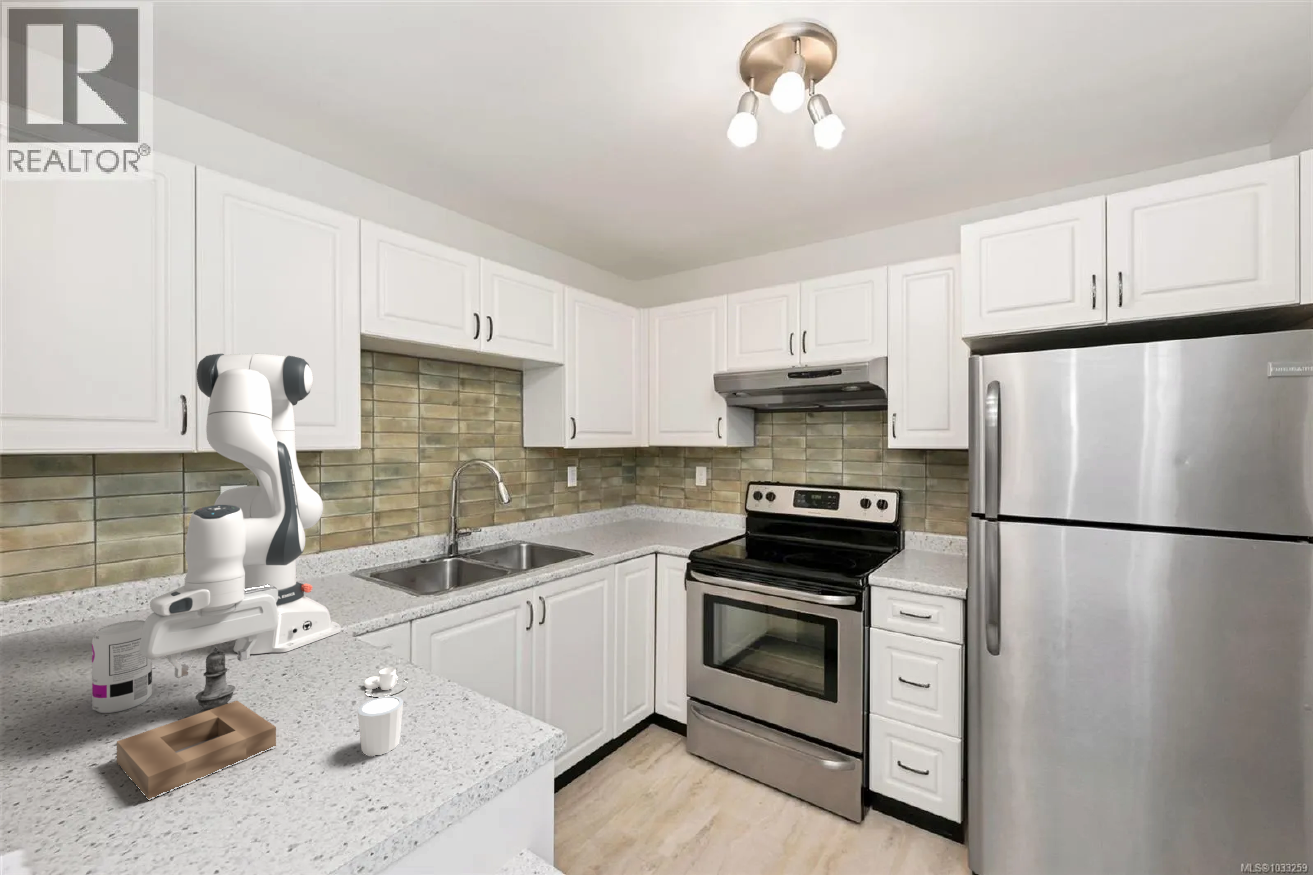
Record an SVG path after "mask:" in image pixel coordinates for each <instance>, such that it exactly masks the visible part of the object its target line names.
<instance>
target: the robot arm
mask: <svg viewBox="0 0 1313 875" xmlns="http://www.w3.org/2000/svg"><path fill="white" fill-rule="evenodd" d="M196 367H197V368H196V376H195V377H196V382H197V386H198V389H199V391H200V392H201V393H202V394H204V395H205V396H207V398H209V404H208V409H207V416H206V425H205V426H206V429H205V430H206V440H207V442H208V444H209V445H210V447H211V448H212V449H213V450H214V451H215V452H217V454H219V455H221V456H222V457H225V458H226V459H229V460H231V461H234V462H236V463H240V464H242V465H243V466H244V467H245V468H247V469H248V470H250V471H251V472H252V473H253V474H254V476H255V477H256V480H257V482H258V484H259V485H255V486H254V485H247V486H246V485H244V486H240V487H235V488H230V489H227V490H225V491H222V493H220V494H219V495H218V497H217V498H216V500H215V502H214V504H213V505H209V506H203V507H200V508H198V509H196V510H194V511H193V512H192V513H191V516H190V517H189V518H190V519H189V522H188V526H187V532H186V533H187V534H186V538H185V539H186V541H185V552H184V553H185V555H184V557H185V559H186V563H187V571H186V574H185V577H184V585H183V586H181V587H178V588H175V589H174V590H171V591H169V592H166V593H163V594H161V595H158V596H156V597H154V598H153V599H151V600H150V602H149V607H150V610H151V611H152V613H150V614H149V615H148V616H147V618H145V620H144V621H145V623H144V626H143V630H142V635H141V643H140V652H141V654H142V655H143V656H144V657H146V658H148V659H152V660H156V659H159V658H160V659H161V658H163V657H164V658H165V657H166V659H167V660H168V662H170V664H171V665H172V666H173V667H174V677H175V678H177V679H179V678H183V677H186V676H189V666H188V665H187V664H186V663H183V664H181V663H180V662H179V661H178V660H180V659H181V658H182V656H181V655H182V653H186V652H189V651H194V650H197V649H202V648H206V647H210V646H214V645H219V644H222V643H227V642H232V641H235V643H234V647H233V651H234V652H235V653H237V657H236V659H237V661H239V662H243V661H245V660H249V659H251V658H250V657H251V656H250V655H258V654H260V655H261V654H267V653H268V654H269V653H286V652H290V651H292V650H295V649H297V648H300V647H303V646H307V645H308V644H311V643H315V642H317V641H320V640H322V639H325V638H328V637H330V636H333V635H334V636H335V635H336V634H339V633H341V631H342V628H341V624H339V623H338V622H336V621H333V620H331V614H330V611H329V609H328V608H327V607H326V605H324V604H322V603H320V602H318V601H316V600H314V599H312V598H310V597H308V596H306V595H305V593H306V594H307V593H310V592H312V590H313V585H312V584H310V583H302V582H300V581H299V582H298V581H297V559H298V558H299V557H300V556H301V555H302V554H303V553H304V549H305V546H306V533H305V530H308V529H311V528H313V527H314V526H315V525H316V524H318V522H319V521H320V519H321V518H322V516H323V512H324V504H323V500H322V497H321V495H320V494H318V492H317V491H315V490H314V489H312V487H310V486H309V484H308V482H307V481H306V480H305V478H304V476H303V475H302V472H301V470H300V467H299V464H298V458H297V448H296V447H297V446H296V445H297V444H296V421H295V420H296V419H295V418H296V417H295V411H294V406H297V404H298V402H299V401H302V400H304V399H305V398H307V397H308V396H309V395H310V393H311V390H312V386H313V383H314V377H313V376H314V375H313V371H312V369H311V367H310V364H309V362H307V361H306V359H304V358H301V357H299V356H293V355H287V356H284V355H279V354H271V353H270V354H269V353H237V354H236V353H235V354H234V353H233V354H224V353H215V354H208V355H206V356H204V358H202V359H201V360H200V361H199V362H198V364H197V366H196Z"/></svg>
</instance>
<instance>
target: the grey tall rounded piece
mask: <svg viewBox="0 0 1313 875" xmlns="http://www.w3.org/2000/svg"><path fill="white" fill-rule="evenodd" d="M228 671H229V670H228V668H226V653H224V652H223V651H219V650H218V648H217V647H214V648H213V651H212V652H211V653H209V654H207V656H206V657H205V672H203V674H202V675H203V677H205V685H204V688H203V690H201V691H200V692H198V693H196V695H195V696H194V697H195V699H196V700H197V703H198V705H199V707H201V708H202V710H200V711H199V712H198V713H197V714H199V713H202V712H205V711H208V710H211V709H213V708H216V707H219V706H222V705H225V704H228V703H229V702H230V700H231V699H232V698H233V695H234V692H235V690H236V686H234V685H232V684H228V683H227V678H226V677H227V675H226V674H227V673H226V672H228Z"/></svg>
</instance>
